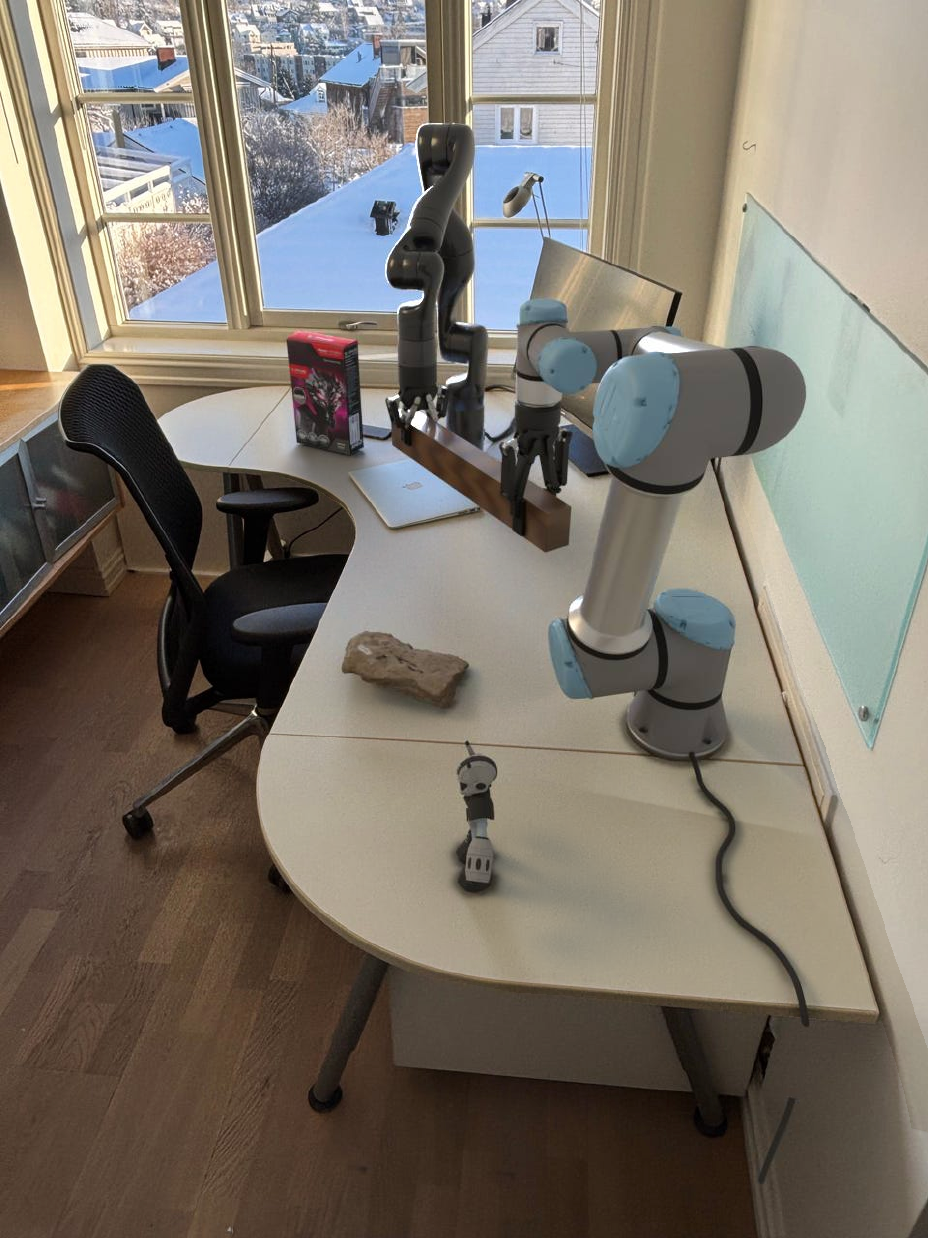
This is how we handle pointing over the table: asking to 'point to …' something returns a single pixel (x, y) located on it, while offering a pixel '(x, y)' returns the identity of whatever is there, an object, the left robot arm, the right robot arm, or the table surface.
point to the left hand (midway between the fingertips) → (419, 441)
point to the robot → (476, 819)
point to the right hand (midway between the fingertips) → (532, 528)
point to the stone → (404, 667)
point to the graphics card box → (326, 391)
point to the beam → (484, 481)
